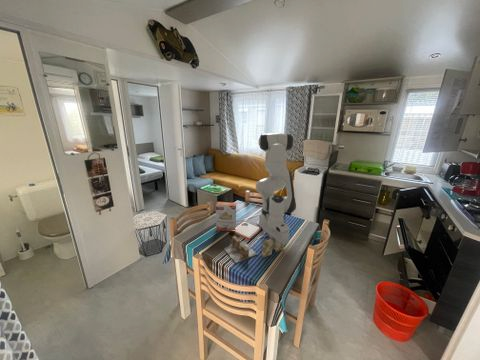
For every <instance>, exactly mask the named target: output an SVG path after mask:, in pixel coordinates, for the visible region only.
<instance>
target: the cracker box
mask: <svg viewBox="0 0 480 360" xmlns="http://www.w3.org/2000/svg"><path fill="white" fill-rule="evenodd" d="M215 209H216V210H215V211H216V213H215V219H216V220H215V222H216V223H215V225H216V231H222V232H223V231H225V232H232V231H231V230H235V231H236V229H235V228H237V203H236V202H225V201H217V202H216V205H215Z"/></svg>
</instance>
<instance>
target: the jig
mask: <svg viewBox="0 0 480 360" xmlns="http://www.w3.org/2000/svg"><path fill="white" fill-rule="evenodd" d="M231 243H232V245H229V246H226V247H224V248H223V250H224V251H225V252H226V254H227V255H228V256H229V258H230V259H231V260H232V261H233V262H234V264H239V263H241V262H244V261H246V260H248V259H251V258H253V257H256V256H258V254H257V253H256V251H254V250H253V249H252V247H250V245H249V244H247V242H246V241H241V240H240V239H239V238H238V237H237V236H236V235H233V236H232V241H231ZM238 262H239V263H238Z"/></svg>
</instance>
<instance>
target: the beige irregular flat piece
mask: <svg viewBox="0 0 480 360" xmlns="http://www.w3.org/2000/svg"><path fill="white" fill-rule="evenodd" d="M274 241H276V240H275V238H271V239H270V238H269V239H267V240H264V241H262V245H261V246H262V249H261V256H262V258H267V257H268V256H271V255H273V254H272V253H273V250H274V252H276V253H278V252H280V251H283V250H284V249H285V245H283V244H281V243H280V242H279V241H278V244H277V245H275V244H274Z"/></svg>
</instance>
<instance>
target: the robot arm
mask: <svg viewBox="0 0 480 360" xmlns="http://www.w3.org/2000/svg"><path fill="white" fill-rule="evenodd" d="M294 141H295V140H294V136H293V135H292V134H290V133H282V132H281V133H279V132H276V133H275V132H273V133H261V134H260V136H259V139H258V146H259V148H260V149H261V150H262V151H264V152H265V157H264V158H265V160H264V169H265V171H266V172H268V175H269V177H264V178H262V179H259V180H258V181H257V182H256V183H255V190H256V192H257V193H258V194H260V196H261V198H262V207H261V212H260V213H259V217H258V220H257V222H256V225H258V226H259V227H260V228H261V227H262V230H263V231H264V232H266V233H267V234H269V235H268V236H269V239H271V238H275V240H276V241H274V244H275V245H277V244H278V241H279V242H280V243H281V244H283V245H284V246H285V245H287V244H288V243H290V242H289V240H290V232H289V231H290V226H289V224H287V223H286V221H285V220H284V214H286V213H288V214H292V213H293V212H294V211H295V210H297V202H296V198H295V190H294V182H293V175H292V172H291V171H290V170H288V167H287V152H286V151H290V150H291V149H293V147H294V143H295V142H294ZM285 188H286V196H281V195H280V194H274V192H278V191H281V190H283V189H285Z"/></svg>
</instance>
